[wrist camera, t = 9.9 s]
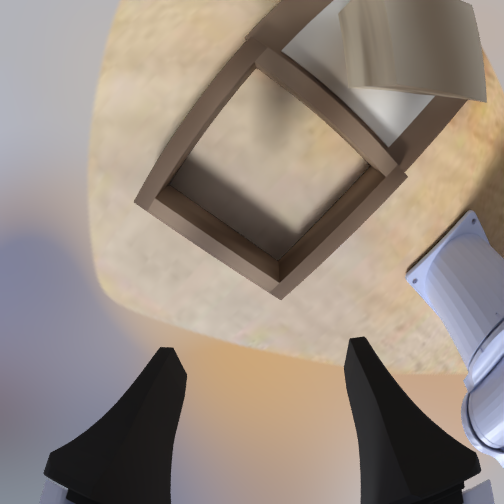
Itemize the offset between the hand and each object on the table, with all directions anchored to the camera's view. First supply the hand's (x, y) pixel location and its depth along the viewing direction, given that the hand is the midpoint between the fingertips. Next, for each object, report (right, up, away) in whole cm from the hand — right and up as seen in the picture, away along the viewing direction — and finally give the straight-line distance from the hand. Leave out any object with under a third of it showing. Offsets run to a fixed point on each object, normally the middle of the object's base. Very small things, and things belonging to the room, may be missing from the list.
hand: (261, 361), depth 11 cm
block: (+7, +15, 0) cm, 17 cm away
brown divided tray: (+4, +12, +3) cm, 13 cm away
